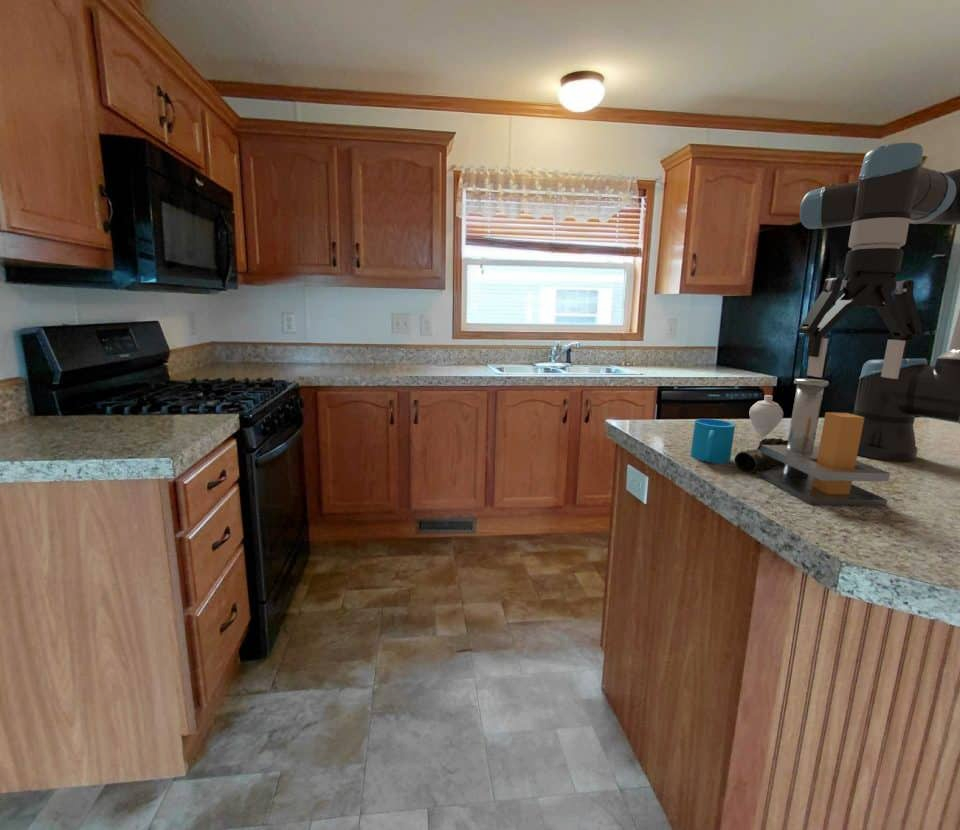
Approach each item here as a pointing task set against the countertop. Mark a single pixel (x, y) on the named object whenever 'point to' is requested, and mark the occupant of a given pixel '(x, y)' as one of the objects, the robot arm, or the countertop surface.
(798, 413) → the two-tier gray stand
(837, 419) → the orange upright block
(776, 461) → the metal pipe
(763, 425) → the spinning top
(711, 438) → the mug
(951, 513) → the countertop surface
